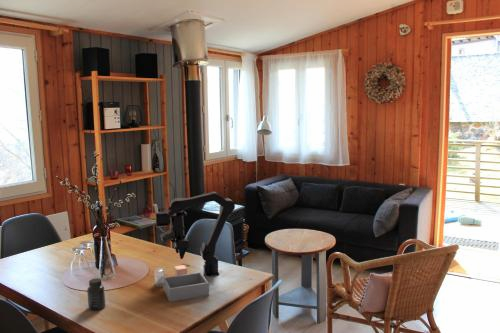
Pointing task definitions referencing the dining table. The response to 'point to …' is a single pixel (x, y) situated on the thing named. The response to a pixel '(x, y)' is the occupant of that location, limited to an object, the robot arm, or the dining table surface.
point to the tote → (185, 286)
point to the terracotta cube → (180, 270)
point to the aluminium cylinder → (159, 276)
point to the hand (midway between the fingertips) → (179, 255)
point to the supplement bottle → (96, 295)
